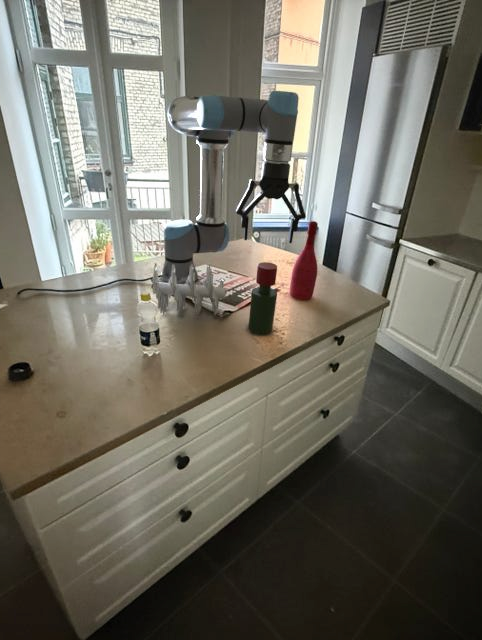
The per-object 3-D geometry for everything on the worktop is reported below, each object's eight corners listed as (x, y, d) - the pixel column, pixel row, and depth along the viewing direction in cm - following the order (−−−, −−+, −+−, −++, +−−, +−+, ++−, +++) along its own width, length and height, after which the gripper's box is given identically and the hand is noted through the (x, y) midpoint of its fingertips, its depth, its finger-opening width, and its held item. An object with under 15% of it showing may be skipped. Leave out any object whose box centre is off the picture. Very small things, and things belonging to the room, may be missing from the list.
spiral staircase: (222, 328, 134) (152, 324, 131) (222, 291, 143) (156, 286, 140) (228, 296, 119) (148, 290, 115) (227, 256, 127) (153, 249, 124)
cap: (256, 285, 115) (258, 268, 112) (255, 278, 120) (257, 261, 117) (276, 286, 115) (278, 269, 112) (274, 279, 120) (276, 262, 117)
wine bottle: (311, 292, 156) (325, 219, 139) (313, 302, 148) (328, 226, 131) (288, 290, 157) (299, 217, 140) (288, 300, 149) (300, 223, 132)
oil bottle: (249, 335, 124) (255, 272, 111) (247, 323, 131) (253, 262, 118) (273, 336, 124) (281, 273, 112) (270, 324, 131) (278, 264, 119)
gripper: (230, 159, 96) (226, 241, 108) (325, 167, 98) (310, 246, 110) (230, 156, 102) (226, 234, 114) (319, 163, 104) (306, 239, 116)
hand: (267, 240), depth 112 cm, fingers open, 13 cm apart
